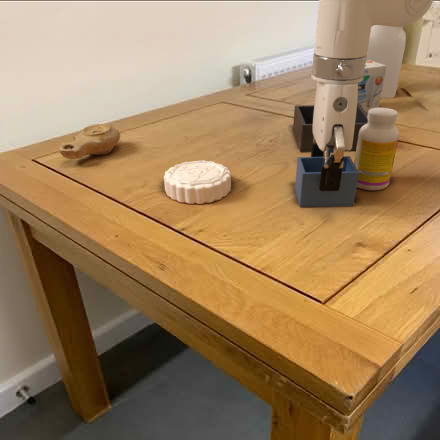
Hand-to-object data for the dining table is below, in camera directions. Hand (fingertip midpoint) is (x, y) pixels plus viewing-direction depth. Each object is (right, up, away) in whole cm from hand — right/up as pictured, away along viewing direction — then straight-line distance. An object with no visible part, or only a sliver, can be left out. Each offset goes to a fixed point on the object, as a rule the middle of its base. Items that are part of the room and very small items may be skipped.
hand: (323, 177), depth 79 cm
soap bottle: (+25, +35, +51) cm, 67 cm away
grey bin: (+7, +14, +24) cm, 29 cm away
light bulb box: (+17, +27, +41) cm, 52 cm away
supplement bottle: (+10, 0, +6) cm, 12 cm away
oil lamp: (-44, +10, +21) cm, 50 cm away
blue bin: (0, -3, +2) cm, 4 cm away
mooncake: (-22, -1, +6) cm, 22 cm away
